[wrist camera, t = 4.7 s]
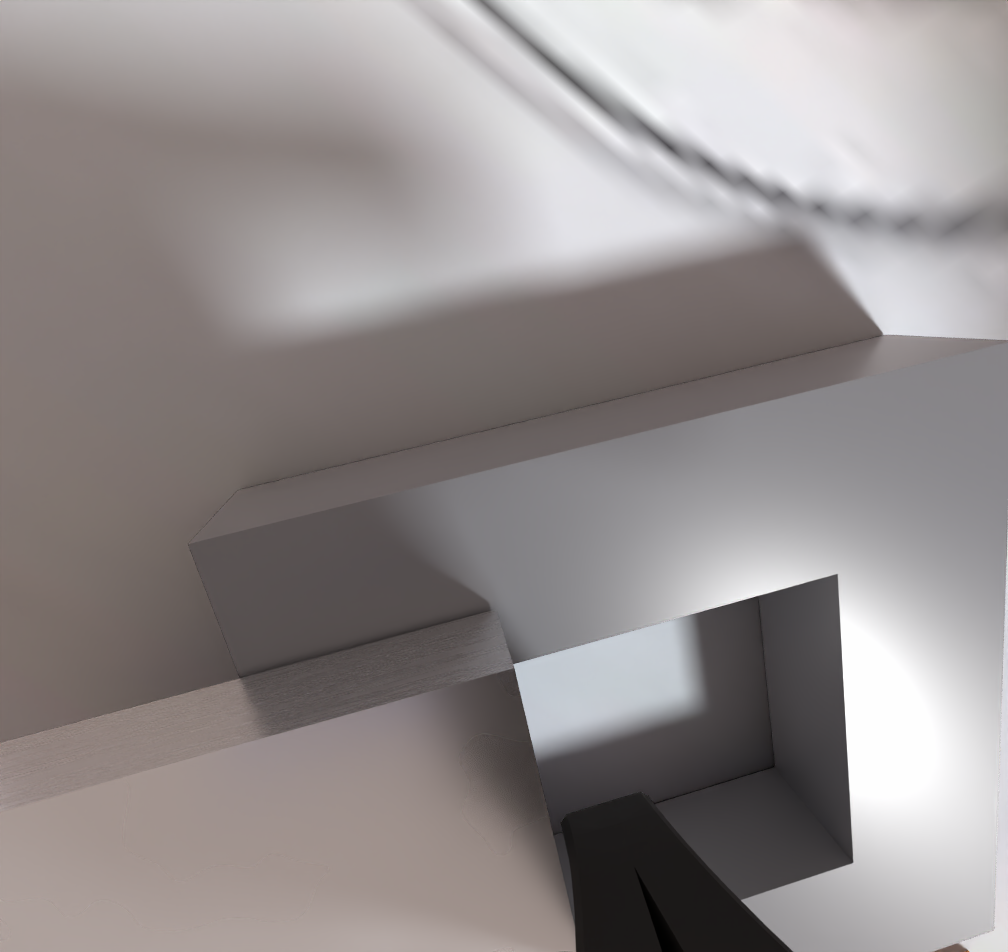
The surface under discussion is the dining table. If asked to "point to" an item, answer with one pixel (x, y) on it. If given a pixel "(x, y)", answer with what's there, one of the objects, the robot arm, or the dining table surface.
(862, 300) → the dining table surface
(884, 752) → the socket plate
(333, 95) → the dining table surface
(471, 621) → the panel
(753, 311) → the dining table surface
